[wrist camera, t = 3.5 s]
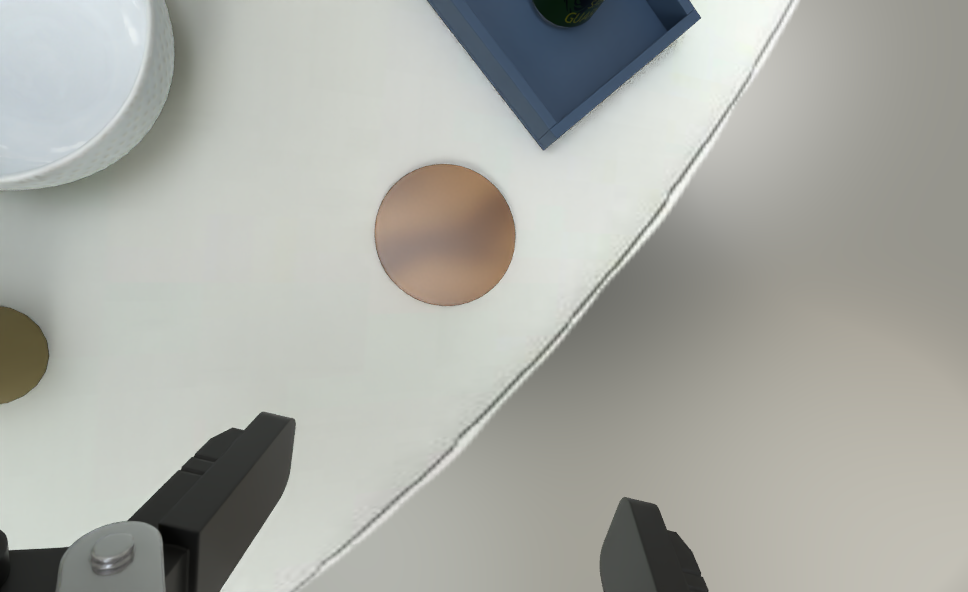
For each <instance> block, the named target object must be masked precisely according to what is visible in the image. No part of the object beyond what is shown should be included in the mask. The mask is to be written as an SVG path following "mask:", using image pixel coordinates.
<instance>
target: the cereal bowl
mask: <svg viewBox="0 0 968 592" xmlns="http://www.w3.org/2000/svg"><path fill="white" fill-rule="evenodd" d="M172 33H173V29H172V23H171V20H170V17H169V11H168V9H167V6H166V3H165V0H0V191H1V190H15V191H19V190H27V189H40V188H45V187H53V186H59V185H62V184H66V183H71V182H73V181H76V180H80V179H82V178H84V177H88V176H91V175H92V174H94V173H96V172H98V171H101V170H103V169H106V168H107V167H108V166H109V165H111V164H113V163H115V162H116V161H117V160H120V159H121V157H123V156H125V155H127V154H128V153H129V151H130V150H131V149H133V148H134V147H135V146H136V145H137V144H138V143H139V142H141V141H142V139H143V137H144V136H145V135H146V134H147V133H148V131H149V130H150V129H151V128H152V126H153V124H154V122H155V121H156V119H157V117H158V116H159V114H160V113H161V110H162V108H163V106H164V103H165V101H166V100H167V95H168V93H169V91H170V85H171V83H172V76H173V74H174V72H173V69H174V58H175V55H174V37H173V34H172Z"/></svg>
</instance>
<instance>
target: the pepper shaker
mask: <svg viewBox="0 0 968 592" xmlns="http://www.w3.org/2000/svg"><path fill="white" fill-rule="evenodd" d="M48 358H49V353H48V347H47V341H46V339H45V337H44V335H43V333H42V331H41V330H40V328H39V326H37V325H36V324H35V323H34V322H33V321H32V320H31V319H30V318H29V317H28V316H26V315H24V314H22V313H20V312H18V311H16V310H14V309H11V308H7V307H1V306H0V404H3V403H8V402H10V401H13V400H15V399H17V398H20V397H22V396H24V395H25V394H27V393H28V392H29V391H30V390H31V389H33V388H34V387H35V386H36V385H37V384H38V382H39V381H40V379H41V378H42V376H43V374H44V373H45V371H46V367H47V362H48Z"/></svg>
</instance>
